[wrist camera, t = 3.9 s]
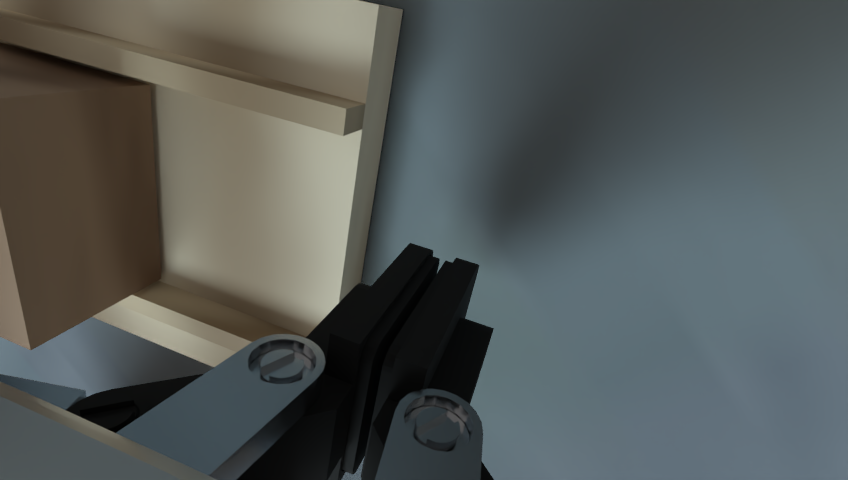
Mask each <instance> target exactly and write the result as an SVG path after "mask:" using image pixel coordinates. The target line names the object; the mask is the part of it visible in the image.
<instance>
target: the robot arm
mask: <svg viewBox="0 0 848 480" xmlns="http://www.w3.org/2000/svg"><path fill="white" fill-rule="evenodd" d="M438 266H439V258H436V257H433V250H430V249H427V248H424V247H421V246H418V245H415V244H412V243H410V244H409V245H408V246H407V247H406V248H405V249H404V250H403V251H402V252H401V254H400V255H399V256H398V257H397V258H396V259H395V260H394V261H393V263H392V264H391V265H390V266H389V267H388V268H387V269H386V270H385V272H384V273H383V274H382V275H381V276H380V277H379V278H378V279H377V281H376V282H375V283H374V284H373V285H372V286H368V285H365V284H362V283H358V284H357V285H356V286H355V287H354V288H353V289H352V290H351V291H350V292H349V293H348V294H347V295H346V296H345V297H344V298H343V299H342V300H341V301H340V302H339V303H338V304H337V305H336V306H335V307H334V309H333V310H332V311H331V312H330V313H329V314H328V315H327V316H326V317H325V318H324V319H323V320H322V321H321V322H320V323H319V324H318V325H317V326H316V327H315V328H314V329H313V330H312V331H311V332H310V334H309V335H308V336H307V337H306V338H304V337H301V336H298V335H291V334H274V335H270V336H266V337H262V338H260V339H258V340H256V341H254V342H252V343H250V344H248V345H247V346H245V347H244V348H242V349H241V350H239V351H238V352H236V353H235V354H233V355H232V356H230V357H229V358H227V359H226V360H224V361H223V362H221V363H220V364H218V365H217V366H215V367H214V368H212V369H211V370H209V371H208V372H206V373H205V374H200V375H194V376H188V377H182V378H176V379H171V380H165V381H159V382H153V383H147V384H141V385H135V386H129V387H123V388H117V389H111V390H107V391H103V392H100V393H96V394H93V395H91V396H89V397H86V392H85V390H81V389H75V388H70V387H65V386H60V385H55V384H49V383H44V382H39V381H34V380H29V379H23V378H18V377H13V376H8V375H3V374H0V480H341V479H342V477H343V475H344V473H345V472H349V473H351V474H354V473H355V472H356V471H357V469H358V467H359V465H360V463H361V462H362V460H363V458H364V456H365V458H364V463H363V468H362V473H361V478H362V480H494V479H493V478H492V476H491V475H490V473H489V472H488V470H487V469H486V467H485V466H484V464H483V463H482V444H483V429H482V422H481V420H480V418H479V416H478V414H477V412H476V411H475V410H474V409H473V408H472V407H471V406H470V402H471V399H472V396H473V393H474V390H475V387H476V383H477V380H478V377H479V374H480V371H481V368H482V364H483V361H484V358H485V355H486V352H487V348H488V345H489V342H490V339H491V336H492V332H493V329H494V328H491V327H488V326H485V325H482V324H479V323H476V322H473V321H470V320H467V319H465V316H466V313H467V309H468V305H469V302H470V298H471V294H472V291H473V287H474V284H475V280H476V276H477V273H478V268H479V265H478V264H475V263H471V262H468V261H465V260H462V259H459V258H456V259H455V260H454V262H453V263H451V262H448V261H445V262H444V264H443V265H442V267H441V268H440V270H439V272H438V273H437V270H438Z"/></svg>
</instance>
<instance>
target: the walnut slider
mask: <svg viewBox="0 0 848 480" xmlns="http://www.w3.org/2000/svg"><path fill="white" fill-rule="evenodd" d="M160 279H161V263H160V246H159V229H158V212H157V195H156V177H155V160H154V143H153V126H152V109H151V92H150V84H146V83H143V82H139V81H135V80H132V79H128V78H125V77H121V76H118V75H114V74H111V73H107V72H103V71H100V70H96V69H93V68H89V67H86V66H82V65H79V64H75V63H71V62H68V61H64V60H61V59H57V58H54V57H50V56H47V55H43V54H40V53H36V52H32V51H29V50H25V49H22V48H18V47H15V46H11V45H8V44H4V43H0V337H2V338H4V339H7V340H9V341H11V342H13V343H16V344H18V345H20V346H22V347H25V348H27V349H29V350H32V349H34V348H36V347H38V346H39V345H41V344H43V343H45V342H47V341H48V340H50V339H52V338H54V337H56V336H58V335H59V334H61V333H63V332H65V331H67V330H68V329H70V328H72V327H74V326H76V325H78V324H79V323H81V322H83V321H85V320H87V319H89V318H90V317H92V316H94V315H96V314H98V313H99V312H101V311H103V310H105V309H107V308H109V307H110V306H112V305H114V304H116V303H118V302H120V301H121V300H123V299H125V298H127V297H129V296H130V295H132V294H134V293H136V292H138V291H140V290H141V289H143V288H145V287H147V286H149V285H151V284H152V283H154V282H156V281H158V280H160Z"/></svg>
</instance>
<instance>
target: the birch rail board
mask: <svg viewBox="0 0 848 480" xmlns="http://www.w3.org/2000/svg"><path fill="white" fill-rule="evenodd" d="M402 13H403V9H398V8H394V7H389V6H384V5H380V4H375V3H370V2H366V1H361V0H0V43H4V44H8V45H11V46H15V47H18V48H22V49H25V50H29V51H32V52H36V53H40V54H43V55H47V56H50V57H54V58H57V59H61V60H64V61H68V62H71V63H75V64H79V65H82V66H86V67H89V68H93V69H96V70H100V71H103V72H107V73H111V74H114V75H118V76H121V77H125V78H128V79H132V80H135V81H139V82H143V83H146V84H150V92H151V109H152V126H153V143H154V160H155V177H156V195H157V212H158V229H159V246H160V263H161V279H160V280H158V281H156V282H154V283H152V284H151V285H149V286H147V287H145V288H143V289H141V290H140V291H138V292H136V293H134V294H132V295H130V296H129V297H127V298H125V299H123V300H121V301H120V302H118V303H116V304H114V305H112V306H110V307H109V308H107V309H105V310H103V311H101V312H99V313H98V314H96V315H94V316H92V317H94V318H96V319H98V320H101V321H103V322H106V323H108V324H110V325H113V326H115V327H118V328H120V329H123V330H125V331H127V332H130V333H132V334H135V335H137V336H139V337H142V338H144V339H147V340H149V341H152V342H154V343H156V344H159V345H161V346H164V347H166V348H168V349H171V350H173V351H176V352H178V353H181V354H183V355H185V356H188V357H190V358H193V359H195V360H197V361H200V362H202V363H205V364H207V365H210V366H212V367H215V366H217V365H218V364H220V363H221V362H223V361H224V360H226V359H227V358H229V357H230V356H232V355H233V354H235V353H236V352H238V351H239V350H241V349H242V348H244V347H245V346H247V345H248V344H250V343H252V342H254V341H256V340H258V339H260V338H262V337H266V336H270V335H274V334H291V335H298V336H301V337H304V338H306V337H307V336H308V335H309V334H310V332H311V331H312V330H313V329H314V328H315V327H316V326H317V325H318V324H319V323H320V322H321V321H322V320H323V319H324V318H325V317H326V316H327V315H328V314H329V313H330V312H331V311H332V310H333V309H334V307H335V306H336V305H337V304H338V303H339V302H340V301H341V300H342V299H343V298H344V297H345V296H346V295H347V294H348V293H349V292H350V291H351V290H352V289H353V288H354V287H355V286H356V285H357V284H358V283H361V277H362V271H363V264H364V258H365V251H366V245H367V239H368V232H369V226H370V219H371V213H372V206H373V200H374V193H375V187H376V180H377V174H378V168H379V161H380V155H381V148H382V142H383V135H384V129H385V122H386V116H387V109H388V103H389V97H390V90H391V84H392V77H393V71H394V64H395V58H396V51H397V45H398V39H399V32H400V26H401V19H402Z"/></svg>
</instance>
